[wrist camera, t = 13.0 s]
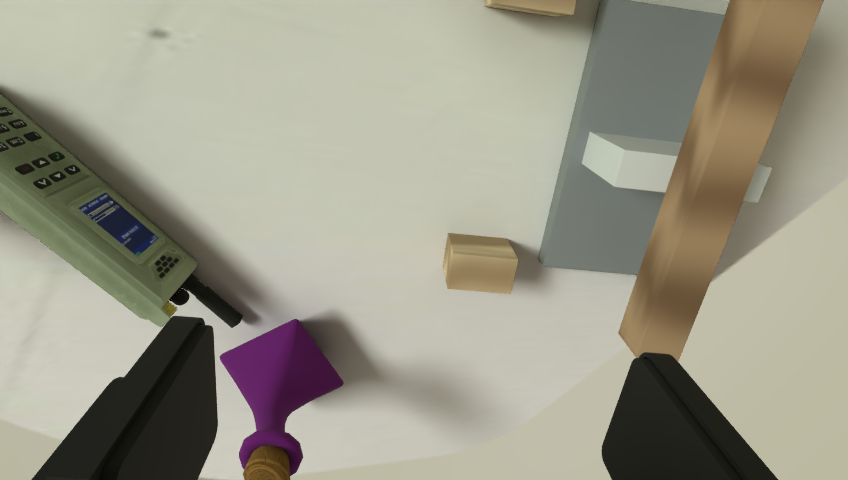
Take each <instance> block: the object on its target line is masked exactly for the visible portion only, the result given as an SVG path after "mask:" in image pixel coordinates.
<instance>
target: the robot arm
mask: <svg viewBox="0 0 848 480" xmlns="http://www.w3.org/2000/svg"><path fill="white" fill-rule="evenodd" d="M217 427H218V418H217V397H216V376H215V355H214V334H213V328H212V326H209V325H205V322H204V320H203V319H202V318H196V317H183V316H173V317H172V318H171V319H170V320H169V321H168V322H167V323H166V325H165V326H164V327H163V329H162V330H161V331H160V332H159V334H158V335H157V336H156V338H155V339H154V340H153V341H152V343H151V344H150V345H149V346H148V348H147V349H146V350H145V352H144V353H143V354H142V355H141V357H140V358H139V359H138V361H137V362H136V363H135V364H134V366H133V367H132V368H131V370H130V371H129V372H128V373H127V375H126V376H125V377H118V378H116V379H114V380H113V381H112V382H111V383H110V384H109V385H108V386H107V387H106V388H105V390H104V391H103V392H102V393H101V395H100V396H99V397H98V398H97V399H96V401H95V402H94V403H93V404H92V406H91V407H90V408H89V409H88V411H87V412H86V413H85V414H84V416H83V417H82V418H81V419H80V420H79V422H78V423H77V424H76V425H75V427H74V428H73V429H72V430H71V432H70V433H69V434H68V435H67V436H66V438H65V439H64V440H63V441H62V443H61V444H60V445H59V446H58V448H57V449H56V450H55V451H54V453H53V454H52V455H51V456H50V458H49V459H48V460H47V461H46V463H45V464H44V465H43V466H42V467H41V469H40V470H39V471H38V472H37V474H36V475H35V476H34V477H33V479H32V480H197V479H198V477H199V475H200V472H201V470H202V468H203V466H204V463H205V461H206V459H207V457H208V454H209V452H210V450H211V448H212V445H213V443H214V440H215V437H216V433H217ZM602 458H603V461H604V464H605V466H606V468H607V470H608V472H609V474H610V476H611V478H612V480H778V479H777V478H776V477H775V475H774V474H773V473H772V472H771V471H770V470H769V468H768V467H767V466H766V465H765V464H764V462H763V461H762V460H761V459H760V458H759V457H758V455H757V454H756V453H755V452H754V451H753V450H752V448H751V447H750V446H749V445H748V444H747V443H746V441H745V440H744V439H743V438H742V437H741V435H740V434H739V433H738V432H737V431H736V430H735V428H734V427H733V426H732V425H731V424H730V423H729V421H728V420H727V419H726V418H725V417H724V416H723V414H722V413H721V412H720V411H719V410H718V408H717V407H716V406H715V405H714V404H713V403H712V402H711V400H710V399H709V398H708V397H707V396H706V394H705V393H704V392H703V391H702V390H701V389H700V387H699V386H698V385H697V384H696V383H695V381H694V380H693V379H692V378H691V377H690V376H689V374H688V373H687V372H686V371H685V370H684V369H683V367H682V366H681V365H680V364H679V363H678V361H677V360H676V359H675V358H674V357H673V356H672V355H670V354H663V353H650V352H645V353H642V354H641V355H640V356H639V358H635V359H634V360H633V361H632V364H631V366H630V369H629V372H628V375H627V377H626V380H625V383H624V386H623V389H622V392H621V394H620V397H619V400H618V403H617V406H616V408H615V411H614V414H613V417H612V419H611V422H610V425H609V428H608V431H607V433H606V436H605V439H604V442H603V445H602Z"/></svg>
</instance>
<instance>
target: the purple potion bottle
mask: <svg viewBox="0 0 848 480" xmlns="http://www.w3.org/2000/svg"><path fill="white" fill-rule="evenodd" d="M220 360H221V362H222V363H223V365H224V366H225V368H226V369H227V371H228V372H229V374H230V375H231V377H232V378H233V380H234V381H235V383H236V384H237V386H238V388H239V389H240V391H241V393H242V394H243V396H244V398H245V399H246V401H247V403H248V404H249V406H250V408H251V409H252V412H253V415H254V418H255V423H256V429H257V431H256V432H255V433H253V434H252V435H250V436H249V437H247V438H245V439H244V441H243V444H242V446H241V449H240V452H239V458H240V461H241V464H242V467H243V469H244V472H243V476H244V479H245V480H290V476H291V475H293V474H294V473H296V472H297V470H298V468H299V465H300V463H301V461H302V459H303V454H302V450H301V446H300V443H299V442H298V441H297V440H296V439H295V438H294V437H292V436H291V435H290V434H289V433H286V432H285V422H286V420H287V417H288V416H289V415H290V414H291V413H292V412H293V411H295V410H296V409H298V408H300V407H301V406H303V405H305V404H306V403H308V402H310V401H312V400H314V399H316V398H318V397H320V396H322V395H324V394H326V393H328V392H331V391H333V390H335V389H337V388H339V387H341V386H342V385H343V380H342V379H341V378H340V376H339V375H338V374H337V372H336V371H335V369H334V368H333V367H332V365H331V364H330V363H329V361H328V360H327V359H326V357H325V356H324V354H323V353H322V352H321V350H320V349H319V348H318V346H317V345H316V343H315V342H314V341H313V339H312V338H311V337H310V335H309V334H308V333H307V331H306V330H305V328H304V327H303V326H302V324H301V323H300V322H299V320H297V319H294V320H292V321H290V322H288V323H286V324H283V325H281V326H279V327H277V328H275V329H273V330H271V331H269V332H267V333H265V334H263V335H261V336H259V337H256V338H254V339H252V340H250V341H248V342H246V343H244V344H242V345H240V346H238V347H236V348H234V349H232V350H229V351H227V352H225V353H223V354H222V355H221V356H220Z"/></svg>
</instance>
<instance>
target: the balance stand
mask: <svg viewBox="0 0 848 480" xmlns="http://www.w3.org/2000/svg"><path fill="white" fill-rule="evenodd" d="M724 17H725V15H721V14H714V13H708V12H701V11H694V10H688V9H681V8H675V7H668V6H661V5H655V4H648V3H642V2H635V1H629V0H601V1H600V5H599V9H598V13H597V17H596V21H595V25H594V30H593V34H592V38H591V42H590V46H589V50H588V54H587V59H586V63H585V67H584V71H583V75H582V79H581V83H580V88H579V92H578V96H577V100H576V104H575V108H574V112H573V116H572V121H571V125H570V129H569V133H568V137H567V141H566V145H565V150H564V154H563V158H562V162H561V166H560V170H559V174H558V179H557V183H556V187H555V191H554V195H553V199H552V203H551V208H550V212H549V216H548V220H547V224H546V228H545V232H544V237H543V241H542V245H541V249H540V253H539V257H538V259H539V260H540V262H541V264H542V265H543V266H546V267H557V268H567V269H578V270H589V271H599V272H610V273H621V274H631V275H638V273H639V270H640V267H641V264H642V261H643V258H644V255H645V252H646V249H647V246H648V243H649V240H650V237H651V234H652V231H653V228H654V225H655V222H656V219H657V216H658V213H659V210H660V207H661V204H662V201H663V198H664V195H665V192H666V189H667V186H668V184H669V181H670V178H671V175H672V172H673V169H674V166H675V163H676V160H677V157H678V154H679V151H680V148H681V145H682V142H683V139H684V136H685V133H686V130H687V127H688V124H689V121H690V118H691V115H692V112H693V109H694V106H695V103H696V100H697V97H698V94H699V91H700V88H701V85H702V82H703V79H704V76H705V73H706V70H707V67H708V64H709V61H710V58H711V55H712V53H713V50H714V47H715V44H716V41H717V38H718V35H719V32H720V29H721V26H722V23H723V20H724ZM771 170H772V167H769V166H766V165H764V164H761V163H758V165H757V167H756V170H755V172H754V175H753V177H752V180H751V182H750V185H749V187H748V190H747V192H746V195H745V197H744V199H743V201H746V202H755V203H758V201H759V199H760V197H761V194H762V192H763V189H764V187H765V185H766V182H767V180H768V177H769V175H770V173H771Z"/></svg>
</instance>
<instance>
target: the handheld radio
mask: <svg viewBox="0 0 848 480" xmlns="http://www.w3.org/2000/svg"><path fill="white" fill-rule="evenodd" d="M0 211H2V212H3V213H4V214H6V215H7V216H8V217H10V218H11V219H12V220H14V221H15V222H16V223H17V224H19V225H20V226H21V227H23V228H24V229H25V230H27V231H28V232H29V233H30V234H32V235H33V236H34V237H36V238H37V239H38V240H40V241H41V242H42V243H43V244H45V245H46V246H47V247H49V248H50V249H51V250H53V251H54V252H55V253H57V254H58V255H59V256H60V257H62V258H63V259H64V260H66V261H67V262H68V263H70V264H71V265H72V266H73V267H75V268H76V269H77V270H79V271H80V272H81V273H83V274H84V275H85V276H86V277H88V278H89V279H90V280H92V281H93V282H94V283H96V284H97V285H98V286H100V287H101V288H102V289H103V290H105V291H106V292H107V293H109V294H110V295H111V296H113V297H114V298H115V299H116V300H118V301H119V302H120V303H122V304H123V305H124V306H126V307H127V308H128V309H129V310H131V311H132V312H133V313H135V314H136V315H137V316H139V317H140V318H143V319H145V320H147V319H148V320H150V321H151V322H153V323H154V324H156V325H158V326H159V327H162V326H163V325H164V324H166V323H167V322H168V321H169V320H170V319H171V318H170V316H172V315H173V314H174V313H175V312H176V310H177V309H176V308H177V307H174V305H171V304H172V303H169V301H168V300H170V301H172V302H173V303H175V304H176V305H183V304H185V303H186V302H187V301H188V300H189V294H188V292H187V291H190V292H191V293H192V294H193V295H195V296H196V298H197V299H198V300H199V301H200V302H202V303H203V304H204V305H205V306H206V307H208V308H209V309H210V310H211V311H212V312H214V313H215V314H216V315H217V316H218V317H220V318H221V319H222V320H223V321H224V322H226V323H227V324H228V325H229V326H230V327H232V328H233V327H234V326H236V325H238V324H239V323H240V321H241V319H242V317H243V316H242V315H241V314H240V313H239V312H238V311H236V310H235V309H234V308H233V307H232V306H230V305H229V304H228V303H227V302H226V301H224V300H223V299H222V298H221V297H220V296H218V295H217V294H216V293H215V292H214V291H213V290H211V289H210V288H209V287H208V286H207V287H206V286H205V285H203V284H202V283H201V282H200V281H199V279H198V278H197V277H196V276H195V275H193V274H192V272H193V271H194V270H195V269H196V267H197V265H198V263H197V261H196V260H195V259H193V258H192V257H191V256H190V255H189V254H188V253H186V252H185V251H184V250H183V249H182V248H181V247H179V246H178V245H177V244H176V243H175V242H173V241H172V240H171V239H170V238H169V237H168V236H166V235H165V234H164V233H163V232H162V231H161V230H159V229H158V228H157V227H156V226H155V225H154V224H152V223H151V222H150V221H149V220H148V219H147V218H145V217H144V216H143V215H142V214H141V213H140V212H138V211H137V210H136V209H135V208H134V207H133V206H131V205H130V204H129V203H128V202H127V201H126V200H124V199H123V198H122V197H121V196H120V195H119V194H117V193H116V192H115V191H114V190H113V189H111V188H110V187H109V186H108V185H107V184H106V183H104V182H103V181H102V180H101V179H100V178H99V177H97V176H96V175H95V174H94V173H93V172H92V171H90V170H89V169H88V168H87V167H86V166H85V165H83V164H82V163H81V162H80V161H79V160H78V159H76V158H75V157H74V156H73V155H72V154H71V153H69V152H68V151H67V150H66V149H65V148H64V147H62V146H61V145H60V144H59V143H58V142H56V141H55V140H54V139H53V138H52V137H51V136H49V135H48V134H47V133H46V132H45V131H44V130H42V129H41V128H40V127H39V126H38V125H37V124H35V123H34V122H33V121H32V120H31V119H30V118H28V117H27V116H26V115H25V114H24V113H23V112H21V111H20V110H19V109H18V108H17V107H16V106H14V105H13V104H12V103H11V102H10V101H9V100H7V99H6V98H5V97H4V96H3V95H1V94H0ZM180 287H181V288H183V289H181V288H180ZM184 289H185V290H184ZM180 290H181V291H180ZM176 291H177V292H176ZM178 292H179V293H178ZM173 297H174V298H173ZM171 299H172V300H171Z"/></svg>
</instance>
